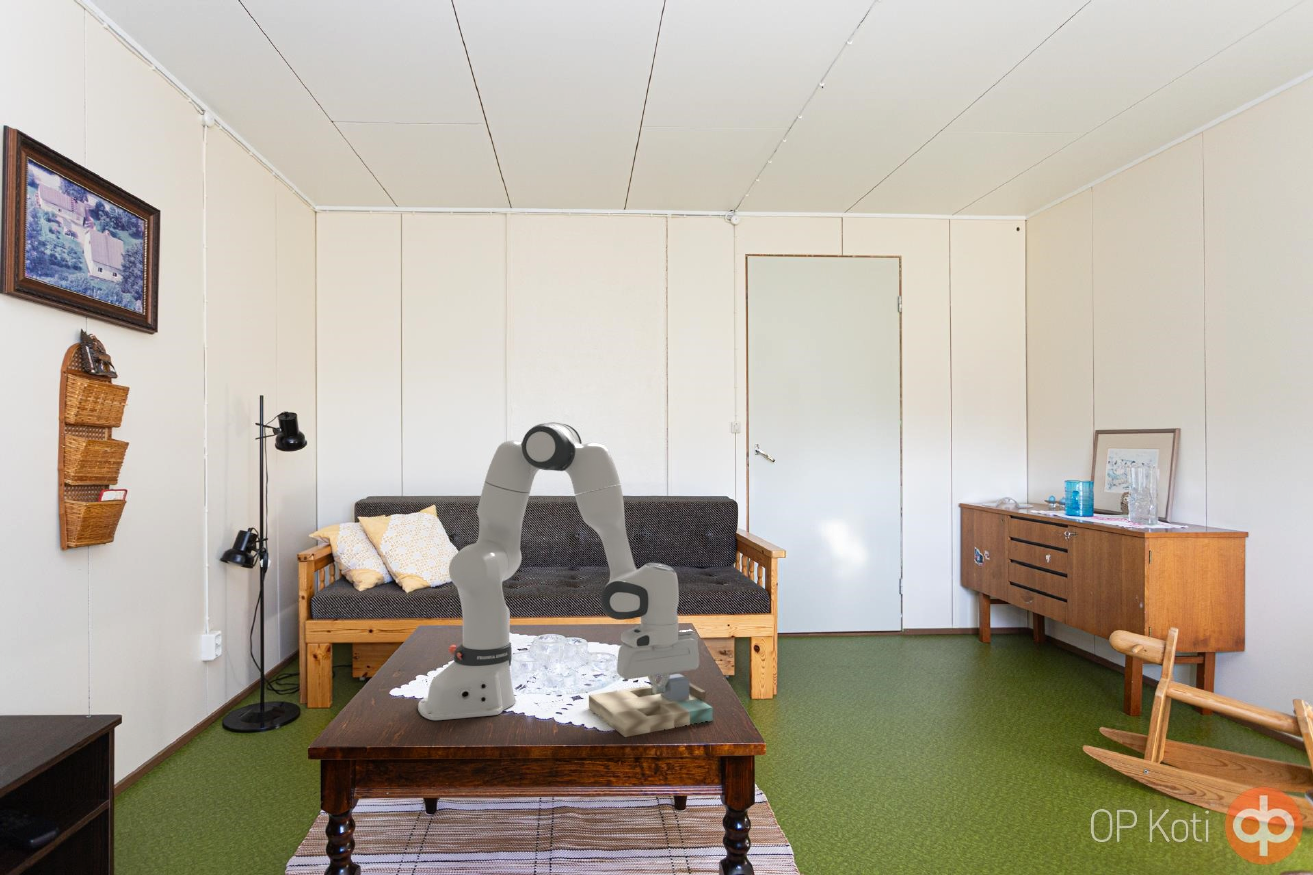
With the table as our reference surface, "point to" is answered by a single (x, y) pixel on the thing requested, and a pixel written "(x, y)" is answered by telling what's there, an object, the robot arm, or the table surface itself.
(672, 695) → the slate block
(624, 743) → the table surface
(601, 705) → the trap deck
